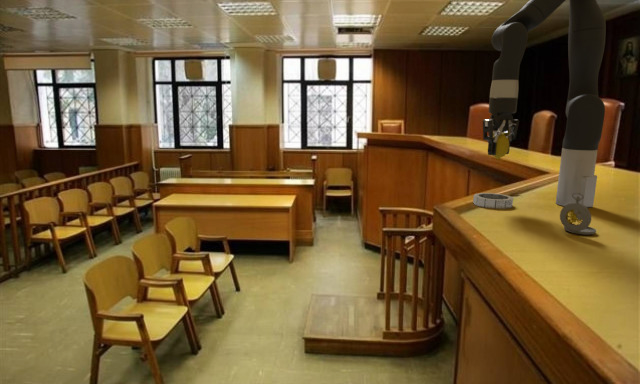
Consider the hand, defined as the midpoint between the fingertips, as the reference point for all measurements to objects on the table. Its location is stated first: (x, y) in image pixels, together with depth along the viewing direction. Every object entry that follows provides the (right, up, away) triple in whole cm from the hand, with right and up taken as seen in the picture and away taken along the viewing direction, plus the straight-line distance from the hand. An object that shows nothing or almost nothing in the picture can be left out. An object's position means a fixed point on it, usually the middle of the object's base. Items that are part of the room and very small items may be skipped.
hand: (498, 154), depth 130 cm
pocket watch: (+8, -21, -26) cm, 34 cm away
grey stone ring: (0, -15, +4) cm, 15 cm away
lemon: (0, -2, 0) cm, 2 cm away
